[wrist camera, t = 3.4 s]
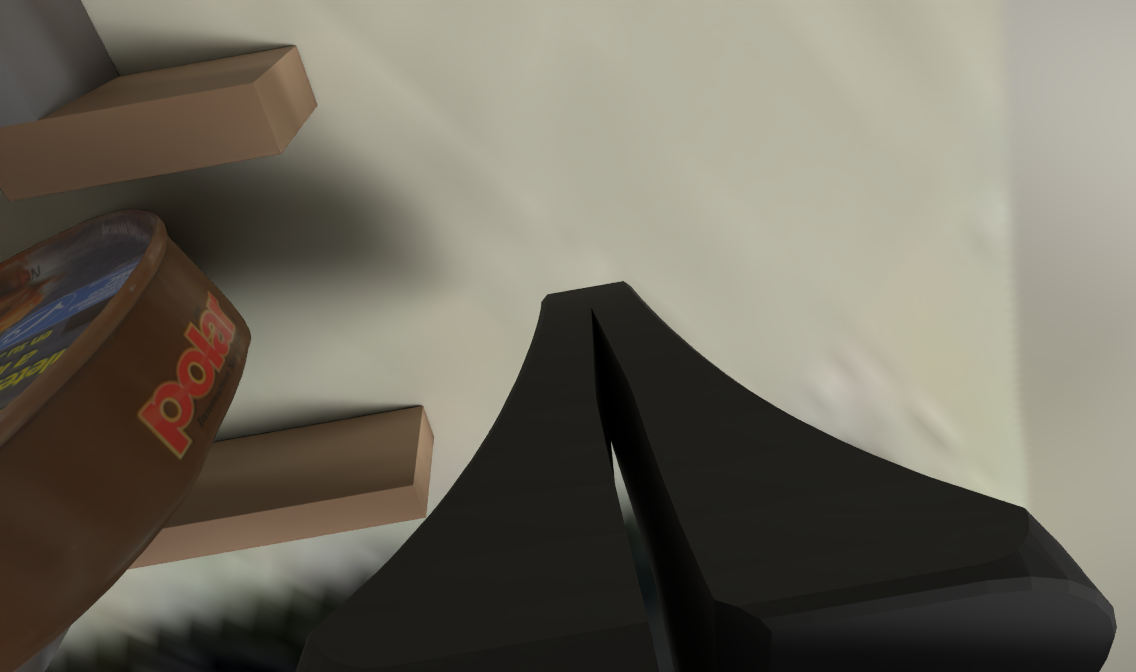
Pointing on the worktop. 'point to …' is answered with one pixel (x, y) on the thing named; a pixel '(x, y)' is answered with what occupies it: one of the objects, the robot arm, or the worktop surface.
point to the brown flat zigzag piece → (177, 143)
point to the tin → (101, 411)
